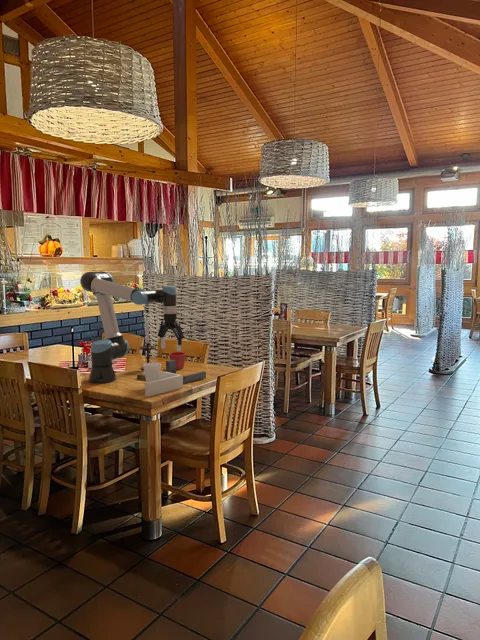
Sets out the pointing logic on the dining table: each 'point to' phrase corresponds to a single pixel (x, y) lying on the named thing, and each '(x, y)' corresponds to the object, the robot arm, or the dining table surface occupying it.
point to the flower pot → (178, 359)
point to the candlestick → (147, 343)
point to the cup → (152, 371)
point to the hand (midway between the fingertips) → (171, 349)
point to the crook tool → (188, 378)
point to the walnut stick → (141, 376)
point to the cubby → (164, 384)
